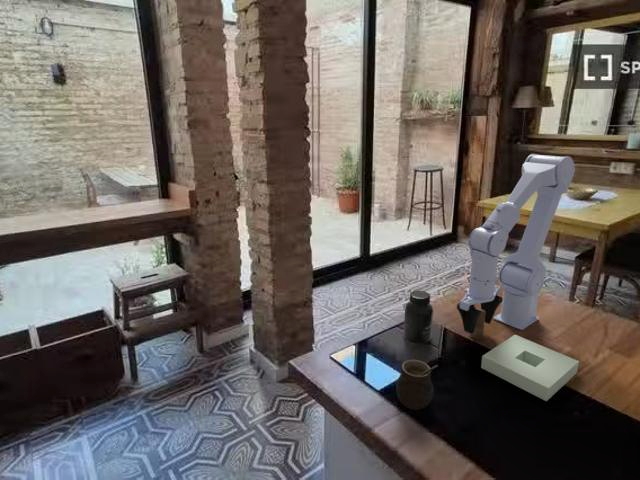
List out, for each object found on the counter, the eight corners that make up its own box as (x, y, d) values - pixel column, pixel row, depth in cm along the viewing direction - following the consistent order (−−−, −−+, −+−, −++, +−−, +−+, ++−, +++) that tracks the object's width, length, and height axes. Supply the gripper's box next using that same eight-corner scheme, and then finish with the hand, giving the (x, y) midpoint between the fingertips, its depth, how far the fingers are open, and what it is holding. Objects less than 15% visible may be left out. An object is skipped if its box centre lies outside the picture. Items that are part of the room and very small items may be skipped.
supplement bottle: (432, 346, 97) (435, 301, 93) (403, 343, 98) (405, 299, 95) (430, 331, 104) (433, 289, 100) (403, 329, 105) (405, 287, 101)
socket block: (513, 345, 97) (514, 334, 96) (576, 373, 86) (579, 361, 85) (480, 367, 89) (482, 355, 88) (546, 401, 78) (548, 388, 77)
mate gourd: (398, 386, 83) (401, 344, 80) (436, 395, 80) (440, 352, 77) (391, 408, 77) (393, 364, 74) (431, 419, 74) (435, 374, 71)
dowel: (474, 331, 103) (477, 307, 101) (485, 336, 101) (488, 311, 99) (467, 335, 101) (470, 310, 99) (478, 340, 99) (481, 315, 97)
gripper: (484, 265, 103) (479, 312, 107) (450, 279, 95) (446, 330, 99) (510, 273, 98) (504, 322, 102) (477, 289, 90) (471, 342, 94)
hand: (477, 326), depth 100 cm, fingers open, 7 cm apart
